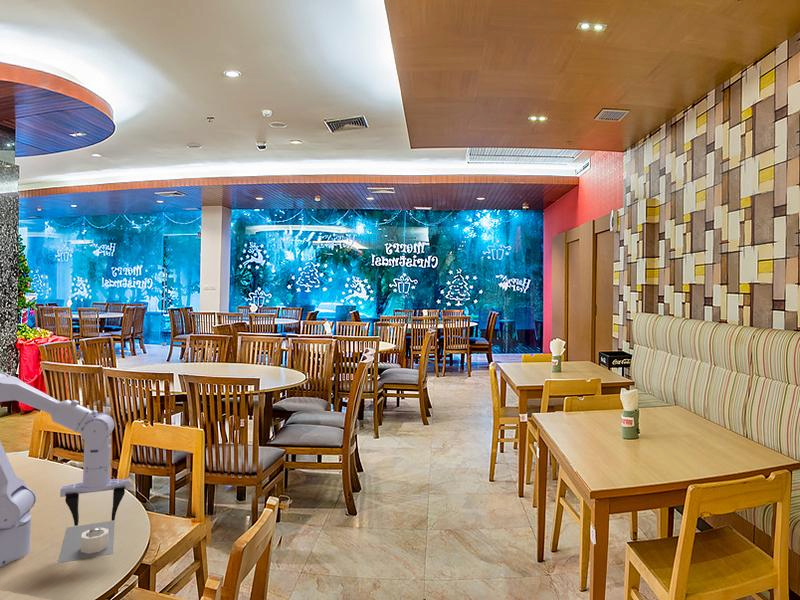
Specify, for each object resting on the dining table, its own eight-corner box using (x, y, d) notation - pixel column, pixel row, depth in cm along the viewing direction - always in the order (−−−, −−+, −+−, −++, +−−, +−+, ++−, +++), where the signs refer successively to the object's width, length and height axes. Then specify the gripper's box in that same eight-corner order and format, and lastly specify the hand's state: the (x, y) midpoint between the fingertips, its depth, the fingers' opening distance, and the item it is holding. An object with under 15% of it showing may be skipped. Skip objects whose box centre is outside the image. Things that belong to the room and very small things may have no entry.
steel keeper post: (94, 550, 125) (95, 531, 125) (86, 549, 126) (86, 530, 125) (102, 545, 127) (103, 527, 127) (94, 544, 128) (94, 526, 128)
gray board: (112, 558, 124) (112, 553, 124) (57, 568, 119) (57, 563, 119) (114, 524, 142) (114, 520, 142) (66, 532, 136) (66, 527, 136)
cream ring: (107, 550, 125) (108, 535, 125) (80, 554, 123) (80, 540, 123) (108, 540, 130) (108, 526, 130) (82, 544, 128) (82, 530, 128)
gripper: (130, 457, 133) (128, 510, 133) (63, 463, 127) (61, 519, 127) (130, 465, 127) (128, 521, 127) (60, 473, 120) (57, 531, 120)
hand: (95, 521), depth 126 cm, fingers open, 7 cm apart
